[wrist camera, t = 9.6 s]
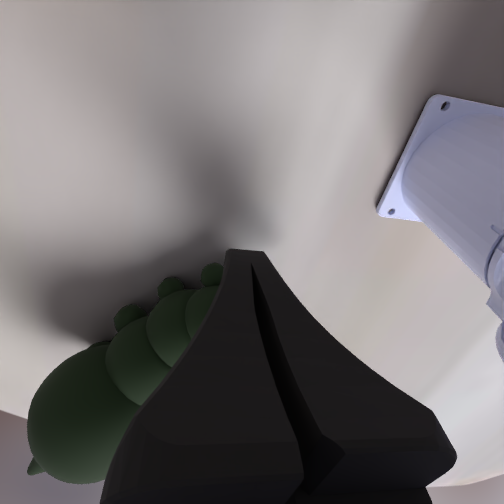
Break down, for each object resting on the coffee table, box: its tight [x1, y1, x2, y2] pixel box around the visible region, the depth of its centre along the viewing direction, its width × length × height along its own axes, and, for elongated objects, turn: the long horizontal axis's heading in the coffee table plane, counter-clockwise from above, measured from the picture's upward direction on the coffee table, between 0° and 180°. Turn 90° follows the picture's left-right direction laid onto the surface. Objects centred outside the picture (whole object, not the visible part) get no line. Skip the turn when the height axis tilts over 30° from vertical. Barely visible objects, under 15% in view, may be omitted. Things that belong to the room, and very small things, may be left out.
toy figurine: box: [27, 263, 224, 484], centre depth 20 cm, size 9×19×25 cm
